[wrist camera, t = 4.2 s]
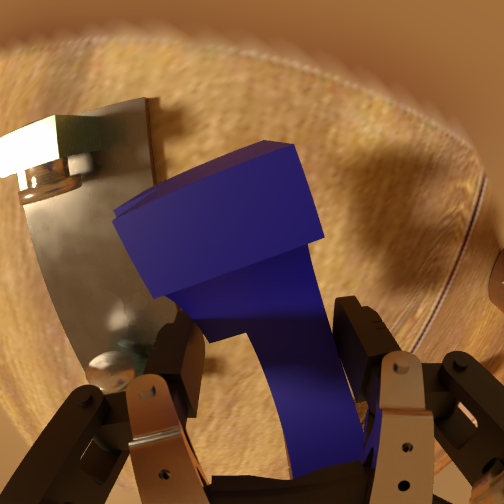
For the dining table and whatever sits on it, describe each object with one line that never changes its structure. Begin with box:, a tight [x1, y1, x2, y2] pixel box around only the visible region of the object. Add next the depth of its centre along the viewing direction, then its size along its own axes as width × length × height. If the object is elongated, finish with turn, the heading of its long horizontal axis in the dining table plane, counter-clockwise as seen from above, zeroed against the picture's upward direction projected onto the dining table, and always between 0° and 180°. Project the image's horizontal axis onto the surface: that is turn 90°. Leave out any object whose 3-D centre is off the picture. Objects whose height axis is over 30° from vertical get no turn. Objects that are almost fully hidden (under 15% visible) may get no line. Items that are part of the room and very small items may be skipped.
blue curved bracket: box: [112, 140, 363, 479], centre depth 9 cm, size 12×4×6 cm, turn 21°
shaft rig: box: [0, 97, 179, 395], centre depth 18 cm, size 12×24×6 cm, turn 4°
